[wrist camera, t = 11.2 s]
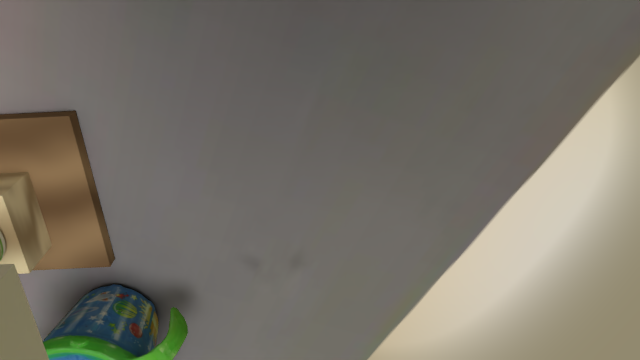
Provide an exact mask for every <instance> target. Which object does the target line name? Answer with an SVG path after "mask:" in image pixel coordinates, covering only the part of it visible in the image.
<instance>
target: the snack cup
mask: <svg viewBox="0 0 640 360" xmlns="http://www.w3.org/2000/svg"><path fill="white" fill-rule="evenodd" d="M157 333H158V318H157V315H156V311H155V307H154V304H153V303H152V302H151V301H150V300H147V299H146V298H145V297H144V296H142V295H141V294H140V293H138V292H136V291H134V290H132V289H128V288H124V287H122V286H121V285H115V284H113V285H111V286H106V287H100V288H98V289H95V290H93V291H91V292H90V293H88V294H86V295H85V296H83V297H82V298H81V299H80V300H79V302H78V303H77V304H76V305H75V306H74V307H73V308H72V309H71V310H70V311H69V313H68V314H67V315H66V316H65V317H64V318H63V319H62V320H61V321H60V322H59V324H58V325H57V326H56V327H55V328H54V329H53V330H52V331H51V333H50V334H49V335H48V336H47V337H46V338H45V339H44V341H43V344H44V347H45V350H46V352H47V355H48V358H49V360H173V358H174V357H175V355H176V354H177V352H178V351H179V349H180V347H181V345H182V344H183V342H184V340H185V338H186V336H187V333H188V330H187V324H186V321H185V319H184V317H183V316H182V315H181V313H180V312H179V311H178V309H177V308H175V307H172V308H171V312H170V322H169V330H168V333H167V336H166V338H165V339H164V340H163V341H162V342H161V343H160V344H158V345H157V346H156V347H155V345H156V339H157Z"/></svg>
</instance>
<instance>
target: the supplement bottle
mask: <svg viewBox="0 0 640 360" xmlns="http://www.w3.org/2000/svg"><path fill="white" fill-rule="evenodd" d="M5 249H6V245H5V240H4V237H3V235H2V233H1V231H0V261H1V260H2V258H3V256H4V254H5Z"/></svg>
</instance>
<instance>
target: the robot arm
mask: <svg viewBox="0 0 640 360" xmlns="http://www.w3.org/2000/svg"><path fill="white" fill-rule="evenodd" d="M0 360H49V358H48V355H47V352H46V350H45V347H44V344H43V341H42V339H41V336H40V333H39V331H38V328H37V325H36V322H35V320H34V317H33V314H32V311H31V309H30V306H29V303H28V300H27V298H26V295H25V292H24V289H23V287H22V284H21V281H20V279H19V276H18V273H17V270H16V268H15V265H14V264H0Z"/></svg>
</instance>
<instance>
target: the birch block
mask: <svg viewBox="0 0 640 360" xmlns="http://www.w3.org/2000/svg"><path fill="white" fill-rule="evenodd" d="M0 231H1V233H2V235H3V237H4V240H5V245H6V249H5V254H4V256H3V258H2V260H1V261H0V264H14V265H15V268H16V270H17V273H18V274H23V273H30V272H31V271H32V270H33V269H34V267H35V266H36V265H37V263H38V262H39V261H40V260H41V258H42V257H43V256H44V255H45V253H46V252H47V251H48V250H49V248H50V247H51V246H52V244H51V241H50V238H49V235H48V231H47V228H46V225H45V222H44V219H43V216H42V213H41V210H40V207H39V204H38V201H37V198H36V194H35V191H34V188H33V185H32V182H31V179H30V176H29V173H28V172H17V173H0Z"/></svg>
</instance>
